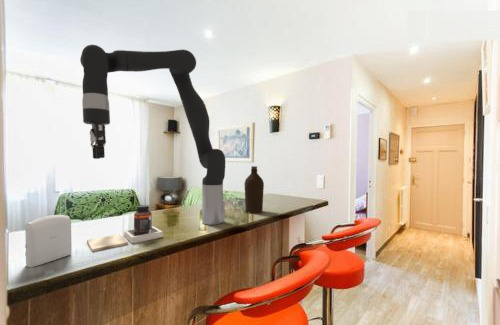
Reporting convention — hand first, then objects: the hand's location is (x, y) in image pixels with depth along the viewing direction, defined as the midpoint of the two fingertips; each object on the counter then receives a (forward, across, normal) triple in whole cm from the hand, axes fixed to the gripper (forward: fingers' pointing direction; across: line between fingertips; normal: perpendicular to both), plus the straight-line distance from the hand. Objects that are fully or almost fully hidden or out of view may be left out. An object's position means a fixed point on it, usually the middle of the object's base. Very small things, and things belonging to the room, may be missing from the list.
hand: (98, 158), depth 80 cm
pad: (+29, 0, -1) cm, 29 cm away
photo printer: (+28, -6, +14) cm, 32 cm away
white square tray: (+29, 0, -13) cm, 32 cm away
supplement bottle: (+29, 0, -13) cm, 32 cm away
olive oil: (+31, +8, -73) cm, 80 cm away
